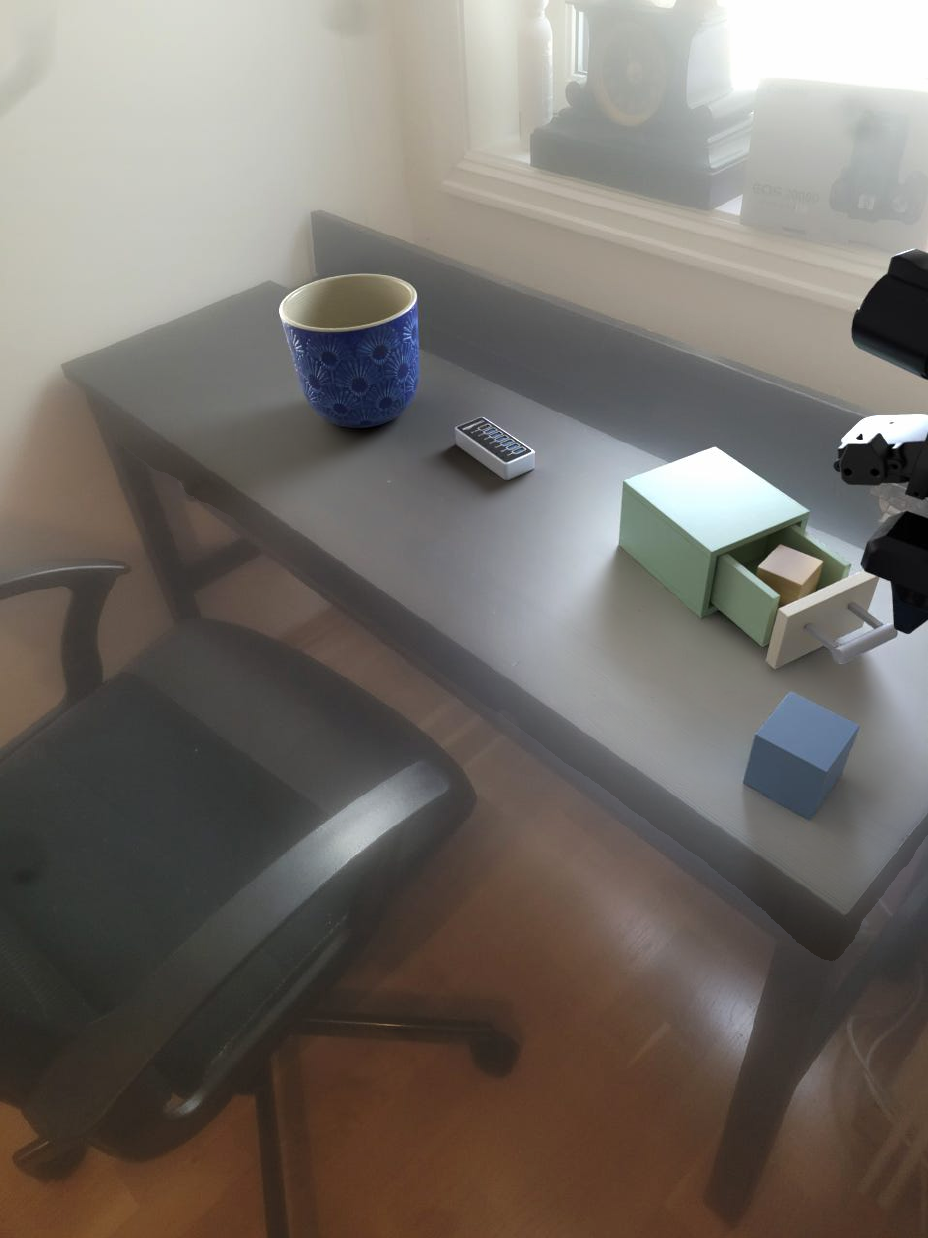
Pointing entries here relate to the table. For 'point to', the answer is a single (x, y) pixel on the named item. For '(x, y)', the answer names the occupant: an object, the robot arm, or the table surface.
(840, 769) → the block
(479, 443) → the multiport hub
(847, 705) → the table surface
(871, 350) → the robot arm
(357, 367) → the planter
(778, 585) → the block
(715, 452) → the cabinet
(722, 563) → the drawer
